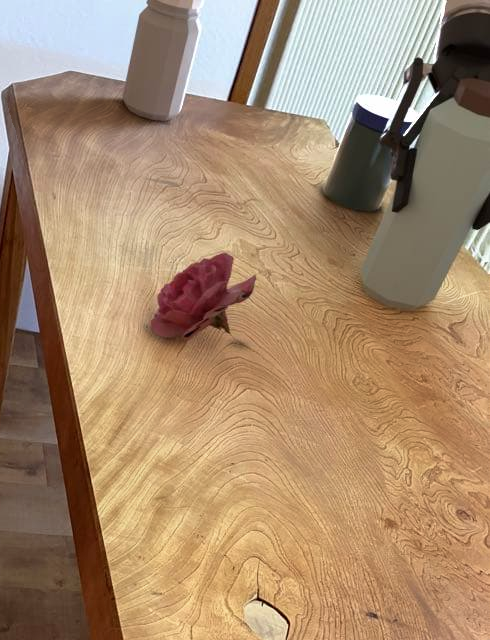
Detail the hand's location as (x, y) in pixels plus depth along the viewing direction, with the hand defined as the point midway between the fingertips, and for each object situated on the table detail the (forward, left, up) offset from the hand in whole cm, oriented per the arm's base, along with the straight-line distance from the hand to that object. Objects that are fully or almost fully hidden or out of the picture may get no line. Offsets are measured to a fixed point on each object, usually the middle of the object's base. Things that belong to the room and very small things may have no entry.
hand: (440, 216), depth 104 cm
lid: (+29, -13, +1) cm, 32 cm away
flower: (-2, +32, -12) cm, 34 cm away
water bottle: (+3, -1, -12) cm, 12 cm away
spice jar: (+29, -13, -12) cm, 34 cm away
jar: (+59, +7, -12) cm, 60 cm away
